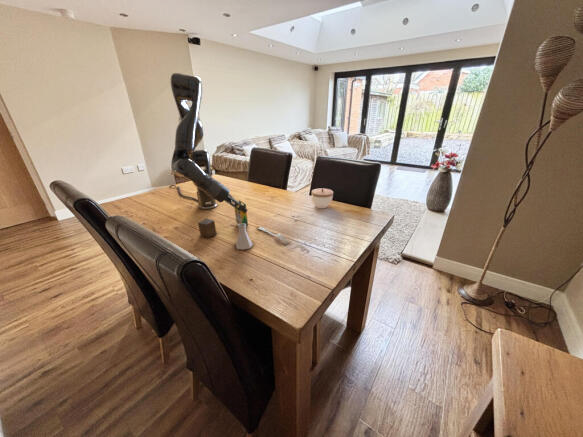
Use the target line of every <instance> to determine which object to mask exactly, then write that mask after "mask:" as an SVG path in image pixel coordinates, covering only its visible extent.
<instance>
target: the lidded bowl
mask: <svg viewBox="0 0 583 437" xmlns="http://www.w3.org/2000/svg"><path fill="white" fill-rule="evenodd" d="M333 198H334V191H333V190H332V189H330V188H323V187H322V188H319V187H318V188H315V189H312V190H311V202H312V204H313V205H314V206H315V207H316V208H317V209H327V208H328V207H329V206H330V205H331V203H332V201H333Z"/></svg>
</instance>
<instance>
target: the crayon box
mask: <svg viewBox="0 0 583 437" xmlns="http://www.w3.org/2000/svg"><path fill="white" fill-rule="evenodd" d="M238 202H239V204H241V205H242V206H243V207H245V208H246V209H247V203H244V202H243V201H241V200H238ZM237 207H239V205H238V206H237ZM234 214H235V215H234V216H235V222H236V223H237V225H239V224H241V223H245V224H246V226H245V227H246V228H247V227H249V222H248V211H247V212H246V213H244V212H242V211H241V210H240V211H239V210H238V209H236V208H235V207H234Z"/></svg>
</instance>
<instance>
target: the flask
mask: <svg viewBox="0 0 583 437" xmlns="http://www.w3.org/2000/svg"><path fill="white" fill-rule="evenodd" d="M245 226H246V224H245V223H241V224H237V227H238V236H237V240H236V243H235V247H236V249H237V250H243V251H244V250H249V249H251V248H252V247H253V245H254V244H253V242H252V240H251V238H250V237H249V234H248V232H247V229H246V228H247V226H246V227H245Z"/></svg>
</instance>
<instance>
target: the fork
mask: <svg viewBox="0 0 583 437" xmlns="http://www.w3.org/2000/svg"><path fill="white" fill-rule="evenodd" d="M257 229H258V230H259V231H263V232H265V233H267V234H269V235H271V236H274V237H277V238H278V239H280V240H281V242H283V243H284V244H285V245H288V244H290V242H289V241H288V240H287V238H286V237H285V236H284V235H283V234H282V233H278V234H275V233H272V232H271V231H269V230H268V229H266V228H265V227H263V226H259V227H258V228H257Z"/></svg>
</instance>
